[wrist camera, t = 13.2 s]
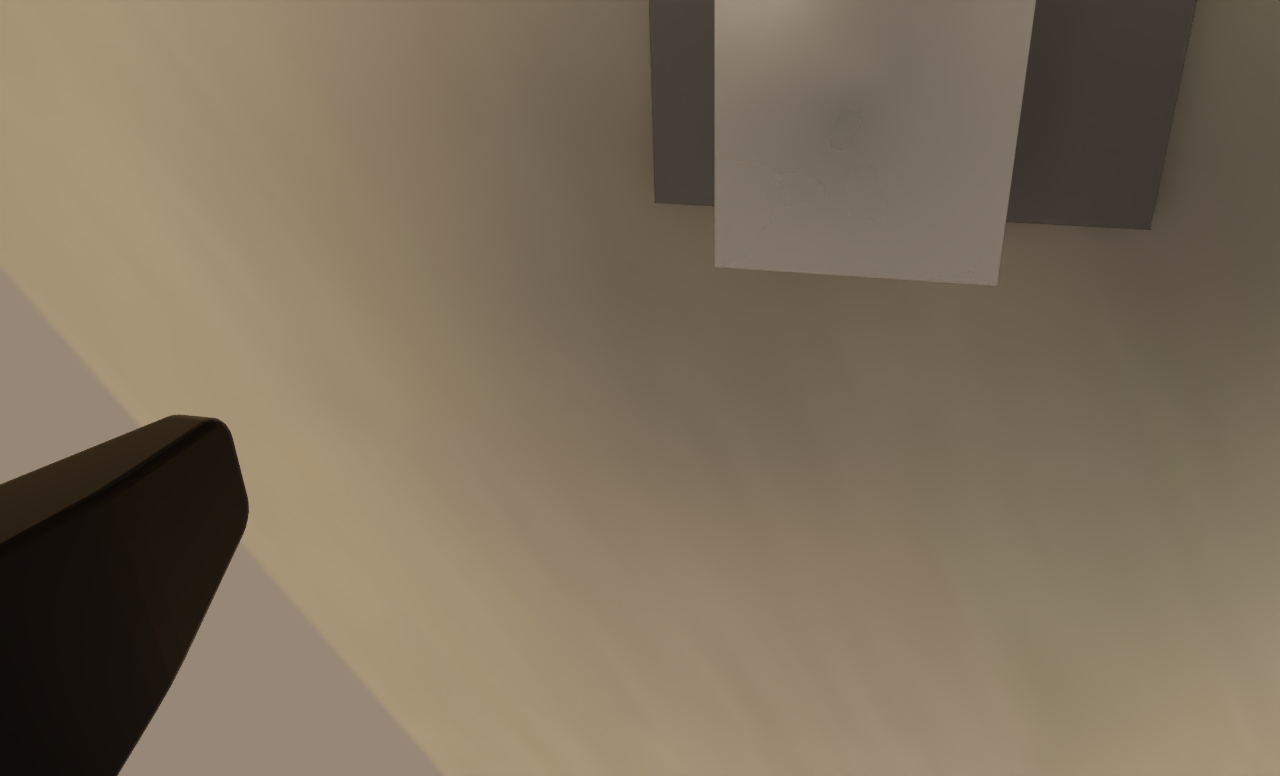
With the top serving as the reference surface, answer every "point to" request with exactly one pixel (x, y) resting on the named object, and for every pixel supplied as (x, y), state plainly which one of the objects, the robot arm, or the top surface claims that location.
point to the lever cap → (867, 135)
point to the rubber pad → (1049, 121)
